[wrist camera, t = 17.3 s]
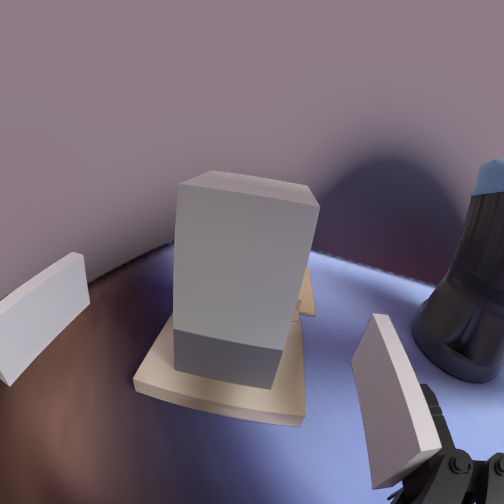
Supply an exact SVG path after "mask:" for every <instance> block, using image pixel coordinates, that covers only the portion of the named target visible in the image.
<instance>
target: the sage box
mask: <svg viewBox="0 0 504 504" xmlns="http://www.w3.org/2000/svg"><path fill="white" fill-rule="evenodd" d="M319 209H320V206H319V204H318V203H317V201H316V199H315V198H314V196H313V194H312V193H311V191H310V189H309V188H308V186H304V185H300V184H295V183H289V182H283V181H278V180H272V179H267V178H261V177H255V176H248V175H241V174H235V173H227V172H221V171H213V170H212V171H209V172H207V173H205V174H202V175H199V176H196V177H194V178H191V179H189V180H187V181H184V182H182V183H179V186H178V198H177V211H176V226H175V228H176V229H175V245H174V275H173V339H174V367H175V370H176V371H180V372H184V373H188V374H192V375H196V376H200V377H204V378H209V379H213V380H218V381H223V382H228V383H233V384H238V385H244V386H249V387H255V388H262V389H268V390H271V388H272V385H273V382H274V379H275V376H276V372H277V369H278V366H279V363H280V360H281V356H282V353H283V350H284V346H285V343H286V339H287V336H288V333H289V329H290V326H291V322H292V319H293V315H294V311H295V308H296V304H297V300H298V297H299V293H300V289H301V285H302V281H303V277H304V274H305V270H306V266H307V262H308V257H309V253H310V249H311V245H312V241H313V236H314V232H315V228H316V223H317V218H318V214H319Z"/></svg>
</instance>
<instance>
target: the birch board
mask: <svg viewBox="0 0 504 504" xmlns="http://www.w3.org/2000/svg"><path fill="white" fill-rule="evenodd" d="M133 383H134V387H135V391H136V392H139V393H142V394H145V395H148V396H151V397H154V398H157V399H160V400H164V401H167V402H170V403H174V404H177V405H181V406H184V407H188V408H192V409H196V410H200V411H204V412H209V413H213V414H218V415H222V416H227V417H232V418H238V419H243V420H249V421H255V422H262V423H269V424H277V425H286V426H295V427H300V425H301V423H302V421H303V419H304V418H305V384H304V359H303V339H302V323H297V322H291V326H290V329H289V333H288V336H287V339H286V343H285V346H284V350H283V353H282V356H281V360H280V363H279V366H278V369H277V372H276V376H275V379H274V382H273V385H272V388H271V390H268V389H262V388H255V387H249V386H244V385H238V384H233V383H228V382H223V381H218V380H213V379H209V378H204V377H200V376H196V375H192V374H188V373H184V372H180V371H176V370H175V367H174V339H173V313H172V315H171V316H170V318H169V319H168V321H167V323H166V324H165V326H164V327H163V329H162V331H161V332H160V334H159V336H158V337H157V339H156V340H155V342H154V344H153V345H152V347H151V349H150V350H149V352H148V354H147V355H146V357H145V359H144V360H143V362H142V364H141V365H140V367H139V369H138V370H137V372H136V374H135V376H134V377H133Z"/></svg>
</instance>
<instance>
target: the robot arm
mask: <svg viewBox="0 0 504 504" xmlns="http://www.w3.org/2000/svg"><path fill="white" fill-rule="evenodd" d="M470 197H471V201H470V206H469V209H468V213H467V217H466V221H465V224H464V228H463V231H462V234H461V237H460V240H459V243H458V246H457V249H456V252H455V254H454V258H453V261H452V263H451V266H450V268H449V271H448V273H447V274H446V276H445V277H444V279H443V280H442V281H441V282H440V284H439V285H438V286H437V288H436V289H435V290H434V291H433V293H432V294H431V295H430V297H429V298H428V299H427V300H425V301H424V302H423V303H422V304H421V306H420V307H419V309H418V311H417V313H416V315H415V318H414V320H413V322H412V333H413V336H414V338H415V340H416V342H417V344H418V345H419V347H420V348H421V350H422V351H423V352H424V353H425V354H426V356H427V357H428V358H429V359H430V360H432V361H433V362H434V363H435V364H436V365H437V366H439V367H440V368H441V369H443V370H444V371H446V372H448V373H449V374H451V375H453V376H455V377H457V378H459V379H462V380H465V381H469V382H474V383H483V382H488V381H490V380H492V379H493V378H495V377H496V375H497V374H498V372H499V371H500V370H501V368H502V367H503V365H504V159H490V160H487V161H485V162H484V163H482V164H481V166H480V167H479V170H478V173H477V177H476V181H475V185H474V188H473V192H471V194H470ZM89 304H90V300H89V293H88V287H87V280H86V272H85V264H84V256H83V254H79V253H75V252H71V253H70V254H68V255H67V256H65V257H63V258H62V259H60V260H59V261H57V262H56V263H54V264H52V265H51V266H49V267H48V268H46V269H45V270H43V271H42V272H40V273H39V274H37V275H36V276H34V277H33V278H32V279H30V280H29V281H28V282H26V283H24V284H23V285H22V286H20V287H19V288H17V289H16V290H15V291H14V292H12V293H11V294H9V295H6V296H5V297H4V298H3V299H1V300H0V379H1V380H2V381H3V382H5V383H6V384H7V385H8V386H11V385H12V384H13V383H14V381H15V380H16V379H17V378H18V377H19V376H20V375H21V374H22V372H23V371H24V370H25V369H26V368H27V367H28V366H29V365H30V364H31V363H32V362H33V360H34V359H35V358H36V357H37V356H38V355H39V354H40V353H41V352H42V351H43V350H44V349H45V348H46V347H47V346H48V345H49V344H50V343H51V342H52V340H53V339H54V338H55V337H56V336H57V335H58V334H59V333H60V332H61V331H62V330H63V329H64V328H65V327H66V326H67V325H68V324H69V323H70V322H71V321H72V320H74V319H75V318H76V317H77V316H78V315H79V314H80V313H81V312H82V311H83V310H84V309H85V308H86V307H87V306H88V305H89ZM351 364H352V368H353V373H354V378H355V383H356V387H357V392H358V398H359V403H360V408H361V414H362V419H363V425H364V431H365V437H366V443H367V450H368V457H369V464H370V472H371V481H372V490H374V489H382V488H389V487H393V486H394V485H396V484H397V483H399V482H400V481H401V480H402V483H403V487H402V488H401V489H399V490H398V491H396V492H395V493H393V494H391V495H390V496H389V497H388V498H387V500H390V499H392V498H394V499H393V500H392V502H391V503H390V504H474V503H476V504H504V453H496V454H494V455H493V456H492V457H491V458H489V459H488V460H487V461H476V460H472V459H471V457H470V456H469V454H468V453H466V452H465V451H464V450H460V449H456V448H455V446H454V443H453V440H452V437H451V435H450V432H449V429H448V426H447V424H446V421H445V418H444V416H442V411H441V408H440V407H439V403H438V401H437V398H436V396H435V394H434V392H433V391H432V390H431V389H430V388H429V387H428V385H427V384H419V382H418V380H417V378H416V375H415V373H414V370H413V368H412V366H411V363H410V361H409V359H408V357H407V354H406V352H405V350H404V348H403V345H402V343H401V341H400V339H399V337H398V335H397V333H396V331H395V328H394V326H393V324H392V322H391V320H390V318H389V316H388V315H383V314H376V313H372V316H371V318H370V320H369V323H368V325H367V327H366V329H365V332H364V334H363V336H362V338H361V341H360V343H359V345H358V347H357V349H356V351H355V353H354V355H353V357H352V360H351Z"/></svg>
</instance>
